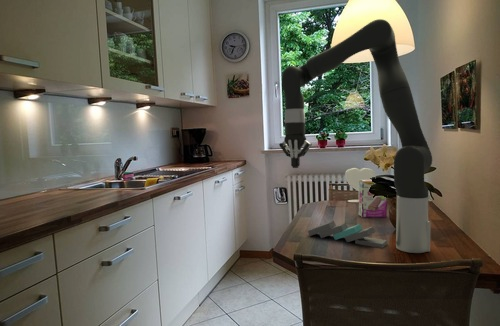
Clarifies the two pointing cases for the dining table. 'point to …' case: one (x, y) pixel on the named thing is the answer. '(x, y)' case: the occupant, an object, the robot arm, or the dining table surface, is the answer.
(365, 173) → the heart sculpture
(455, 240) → the dining table surface
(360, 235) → the domino
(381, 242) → the domino
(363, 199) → the candy bar box
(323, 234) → the domino
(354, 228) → the domino
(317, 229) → the domino
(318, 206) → the dining table surface
